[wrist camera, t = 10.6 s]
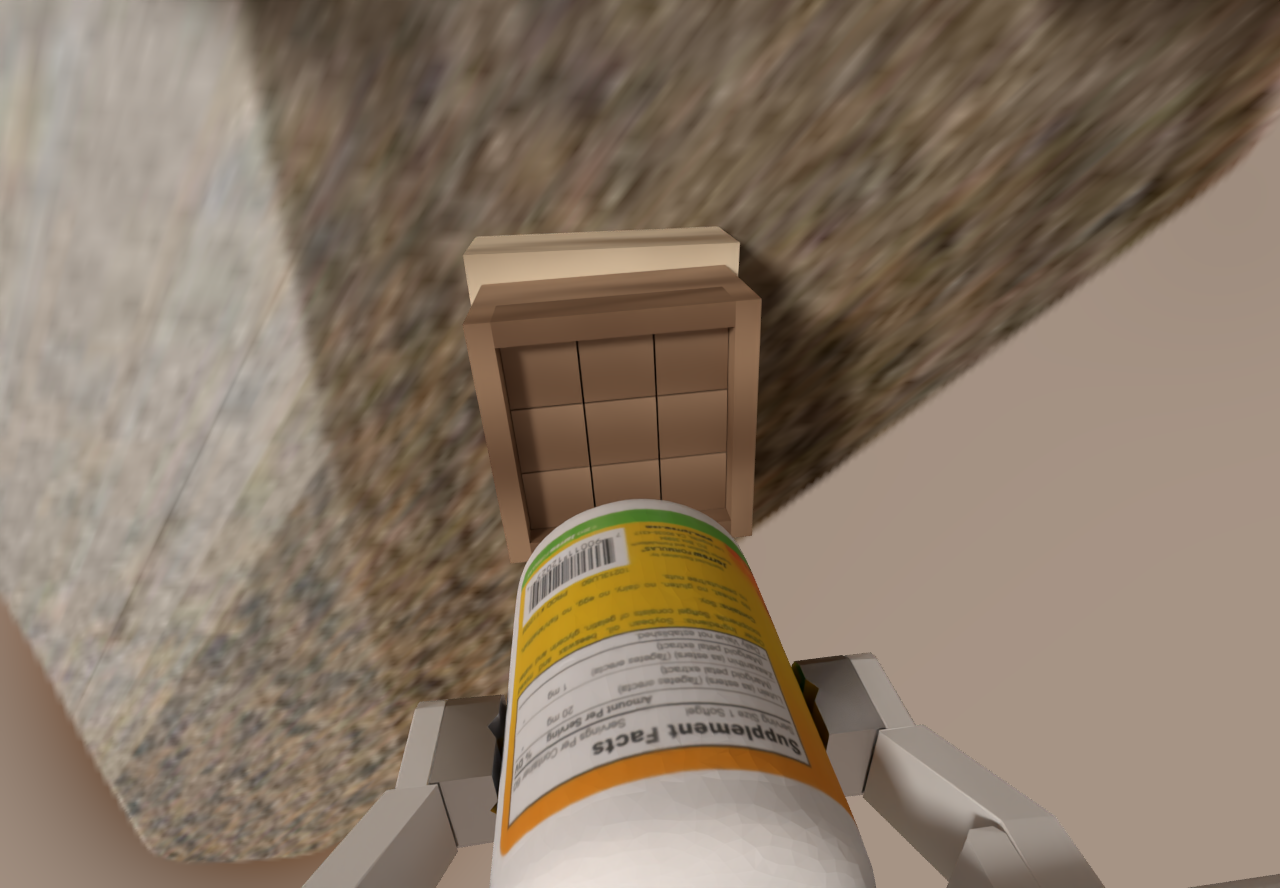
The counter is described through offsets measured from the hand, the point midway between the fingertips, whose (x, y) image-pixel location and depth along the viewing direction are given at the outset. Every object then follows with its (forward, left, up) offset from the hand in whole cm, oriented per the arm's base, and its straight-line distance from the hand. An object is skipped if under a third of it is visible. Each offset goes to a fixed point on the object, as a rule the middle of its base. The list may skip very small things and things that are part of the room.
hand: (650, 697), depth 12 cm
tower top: (0, 0, -15) cm, 15 cm away
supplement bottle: (0, 0, -3) cm, 3 cm away
